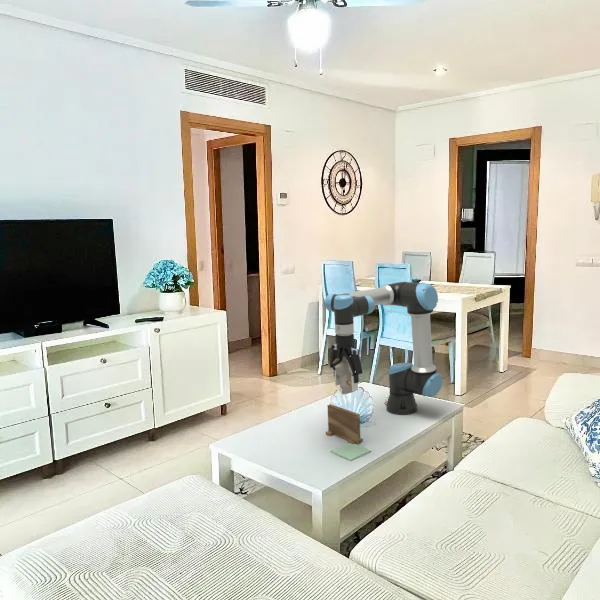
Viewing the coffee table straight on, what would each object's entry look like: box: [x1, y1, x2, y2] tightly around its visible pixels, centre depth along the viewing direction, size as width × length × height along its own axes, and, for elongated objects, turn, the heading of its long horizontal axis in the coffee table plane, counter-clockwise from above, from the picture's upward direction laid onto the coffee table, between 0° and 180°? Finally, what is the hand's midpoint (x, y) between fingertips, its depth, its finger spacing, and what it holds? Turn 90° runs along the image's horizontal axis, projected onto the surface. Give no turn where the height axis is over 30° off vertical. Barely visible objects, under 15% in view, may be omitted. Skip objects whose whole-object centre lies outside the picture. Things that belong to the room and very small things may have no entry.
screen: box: [325, 403, 364, 445], centre depth 236 cm, size 6×18×13 cm, turn 40°
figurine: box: [332, 357, 355, 395], centre depth 219 cm, size 9×10×15 cm
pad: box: [329, 442, 372, 462], centre depth 223 cm, size 12×12×1 cm
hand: (346, 387), depth 220 cm, fingers closed on figurine, 9 cm apart
